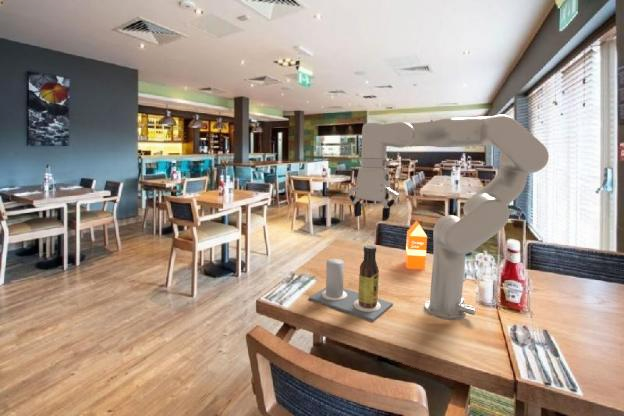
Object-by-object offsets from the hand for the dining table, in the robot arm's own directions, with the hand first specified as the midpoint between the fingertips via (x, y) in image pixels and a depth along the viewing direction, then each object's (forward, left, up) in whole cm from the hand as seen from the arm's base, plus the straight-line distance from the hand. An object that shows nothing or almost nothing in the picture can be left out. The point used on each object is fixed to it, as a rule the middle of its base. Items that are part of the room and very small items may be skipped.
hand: (371, 217), depth 112 cm
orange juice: (+3, -49, -31) cm, 58 cm away
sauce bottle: (0, +1, -29) cm, 29 cm away
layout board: (+6, +1, -30) cm, 31 cm away
